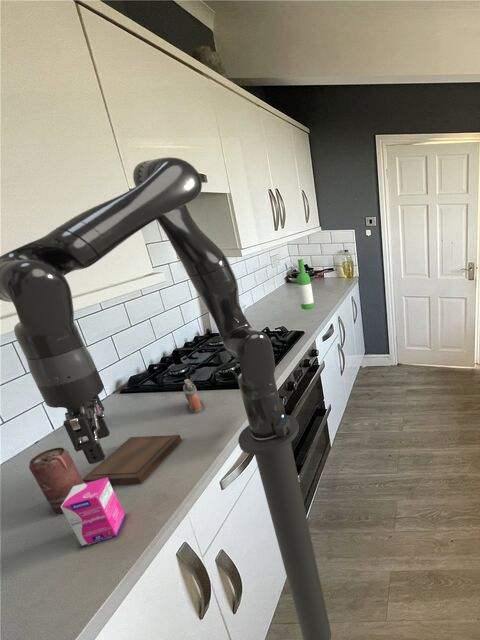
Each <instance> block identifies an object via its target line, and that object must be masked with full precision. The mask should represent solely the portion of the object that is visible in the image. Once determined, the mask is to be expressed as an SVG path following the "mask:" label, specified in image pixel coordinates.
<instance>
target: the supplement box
mask: <svg viewBox="0 0 480 640" xmlns="http://www.w3.org/2000/svg"><path fill="white" fill-rule="evenodd" d="M61 509H62V511H63V513H62V514H63V515H64V516H65V518H66V520H67V522H68V524H69V525H70V527H71V529H72V531H73V533H75V534H74V535H75V536H76V538H77V540H78V542H79V543H80V545H81V547H82V548H83V547H86V546H90V545H93V544H96V543H99V542H102V541H105V540H109V539H113V538H116V537H117V536H118V534H119V532H120V529H121V527H122V525H123V522H124V520H125V518H126V513H125V512H124V510H123V508H122V506H121V503H120V501H119V499H118V497H117V495H116V492H115V490H114V488H113V485H111V484H110V482H109V480H108V478H104V479H100V480H96V481H92V482H88V483H84V484H81V485H77V486H73V488H72V489H71V491H70V493H69V494H68V496H67V498H66V499H65V501H64V502H63V504H62V505H61Z"/></svg>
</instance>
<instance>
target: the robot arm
mask: <svg viewBox="0 0 480 640" xmlns="http://www.w3.org/2000/svg"><path fill="white" fill-rule="evenodd" d="M132 179H133V184H134V187H133V188H131V189H130V190H128V191H125V192H123V193H122V194H120V195H118V196H115V197H113V198H111V199H109V200H106V201H104V202H102V203H100V204H98V205H95V206H93V207H91V208H89V209H87V210H85V211H83V212H80V213H78V214H77V215H75V216H74V217H72V218H70V219H68V220H67V221H65V222H64V223H62V224H60V225H59V226H57V227H56V228H55V229H52V230H51V231H50V232H49V233H47V234H45V235H44V236H42V237H40V238H38V239H35V240H32V241H30V242H28V243H26V244H24V245H21V246H19V247H17V248H15V249H12V250H10V251H8V252H6V253H4V254H2V255H0V301H2V302H8V303H12V304H13V306H14V308H15V311H16V314H17V318H18V320H19V321H18V322H17V323H16V324H15V325H14V328H13V332H14V333H13V334H14V336H15V340H16V341H17V343H18V345H19V347H20V349H21V352H22V353H23V355H24V357H25V360H26V362H27V366H28V370H29V372H30V373H29V374H30V375H31V376H32V379H33V381H34V382H35V385H36V387H37V389H38V391H39V393H40V395H41V397H42V399H43V401H44V403H45V405H46V406H48V407H49V408H55V409H57V408H62V409H66V412H65V413H64V417H65V420H63V423H62V425H63V427H64V429H65V430H66V433H67V435H68V437H69V439H70V442H71V443H72V446H73V449H74V451H75V452H76V453H78V452H81V451H82V452H83V454H84V456H85V459H86V460H87V463H88V464H89V465H94V464H97V463H101V462H102V461H104V460H105V459H106V454H105V451H104V449H103V447H102V445H101V443H100V440H101V439H104V438H107V437H109V436H110V430H109V427H108V425H107V423H106V420H105V416H106V415H105V413H104V412H105V406H104V405H103V403H102V401H101V398H100V396H99V395H100V394H101V393H102V392H103V391H104V390H105V389H104V388H105V386H104V383H103V380H102V379H101V376H100V373H99V371H98V368H97V367H96V363H95V361H94V359H93V357H92V355H91V353H90V351H89V349H88V348H87V346H86V344H85V343H84V340H83V337H82V335H81V333H80V331H79V329H78V326H77V324H76V321H75V310H74V301H73V294H72V290H71V286H70V283H69V282H68V279H67V278H66V275H68V274H69V273H72V272H74V271H80V270H85V269H87V268H90V267H92V266H94V264H96V263H97V262H99V261H100V260H102V259H103V258H104V257H105V256H107V255H108V254H110V253H111V252H112V251H113V250H115V249H116V248H118V246H120V245H121V244H123V243H124V242H125V241H127V240H129V238H131V237H132V236H134V235H135V234H136V233H138V232H139V231H141V230H142V229H144V228H145V227H146V226H148V225H150V224H151V223H153V222H155V221H157V223H158V224H159V226H160V227H161V229H162V230H163V232H164V233H165V234H164V235H166V237H167V239H168V241H169V242H170V244H171V246H172V248H173V250H174V252H175V253H176V255H177V257H178V258H179V261H180V262H181V264H182V266H183V268H184V270H185V273H186V275H187V277H188V279H189V280H190V282H191V284H192V286H193V288H194V289H195V291H196V293H197V294H198V296H199V298H200V299H201V301H202V303H203V305H204V307H205V308H206V310H207V311H208V313H209V314H210V316H211V318H212V320H213V322H214V324H215V326H216V330H217V332H218V334H219V336H220V339H221V342H222V345H223V348H224V350H225V351H226V352H227V354H228V355H229V356H230V357H232V358H234V359H235V360H236V361H238V364H239V368H240V373H239V374H238V376H237V383H238V387H239V390H240V395H241V399H242V402H243V406H244V410H245V414H246V418H247V422H248V425H249V426H250V429H251V435H252V438H253V439H254V440H256V441H261V442H263V441H269V440H272V439H275V438H277V437H281V436H286V435H288V434H290V433H291V428H290V426H291V424H290V420H289V418H286V415H287V414H286V410H285V404H284V399H283V398H280V395H279V391H278V387H277V381H276V377H275V372H276V362H275V361H276V360H275V355H274V350H273V345H272V341H271V339H270V337H269V336H268V335H267V334H266V333H264V332H262V331H260V330H258V329H255V328H253V326H251V324H250V322H249V321H248V319H247V317H246V315H245V314H244V312H243V309H242V307H241V303H240V294H239V292H240V291H239V285H238V280H237V278H236V274H235V272H234V270H233V268H232V266H231V264H230V262H229V260H228V258H227V256H226V254H225V252H223V250H221V249H220V247H219V246H218V245H217V244H216V243H215V242H214V241H213V240H212V239H211V238H210V237H209V236H207V234H206V233H205V232H204V231H203V230H202V229H201V228H200V227H199V226H198V224H197V223H196V222H195V220H194V218H193V217H192V214H191V213H190V211H189V208H188V206H187V204H189V203H192V202H193V201H194V202H195V200H197V199H198V197H199V196H200V194H201V192H202V188H203V183H202V178H201V176H200V173H199V172H198V170H197V169H196V168H195V166H193V165H192V164H191V163H190V162H188V161H186V160H184V159H182V158H178V157H172V156H171V157H169V156H168V157H167V156H166V157H160V158H153V159H149V160H148V159H147V160H144V161H141V162H139V163H137V164H136V165H135V166H134V169H133V171H132ZM287 431H288V432H287ZM85 437H86V438H87V439H83V438H85Z"/></svg>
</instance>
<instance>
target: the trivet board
mask: <svg viewBox="0 0 480 640" xmlns="http://www.w3.org/2000/svg"><path fill="white" fill-rule="evenodd" d="M181 441H182V438H181V434H171V435H169V434H167V435H148V436H147V435H145V436H130V437H129V438H127V440H125V441H124V442H123V443H122V444H121V445H120V446H119V447H118V448H116V449H115V450H114V451H113V452H112V453H110V454H109V455H108V456H106V457H105V459H104V460H103V461H100V462H99V464H98V465H96V466H95V467H94V468H93V469H92V470H91V471H90V472H88V473H87V474H86V475H85V476H84V477H82V480H83V482H84V483H88V482H92V481H96V480H100V479H104V478H108V480H109V482H110V484H111V486H117V485H119V486H120V485H137V484H139V485H140V484H142V483H143V482H144V481H145V480H146V479H147V478H148V477H149V476H150V475H151V473H153V471H154V470H156V468H157V467H158V466H159V465H160V464H161V463H162V462H163V461H164V460H165V459H166V457H167V456H169V455H170V454H171V452H172V451H174V449H175V448H176V447H177V446H178V445H179V444H180V443H181Z"/></svg>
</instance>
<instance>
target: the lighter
mask: <svg viewBox="0 0 480 640" xmlns="http://www.w3.org/2000/svg"><path fill="white" fill-rule="evenodd" d="M183 381H184V384H183V385H182V390H183V393H184V396H185V399H186V400H187V402H188V408H189V410H190V412H192V413H193V414H197V413H200V412H202V411H203V405H202V402H201V401H200V398H199V395H198V391H197V389H198V388H197V386H196V385H195V384H194V383H193V382H192V381H191V379H189V378H186V379H184V380H183Z"/></svg>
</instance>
